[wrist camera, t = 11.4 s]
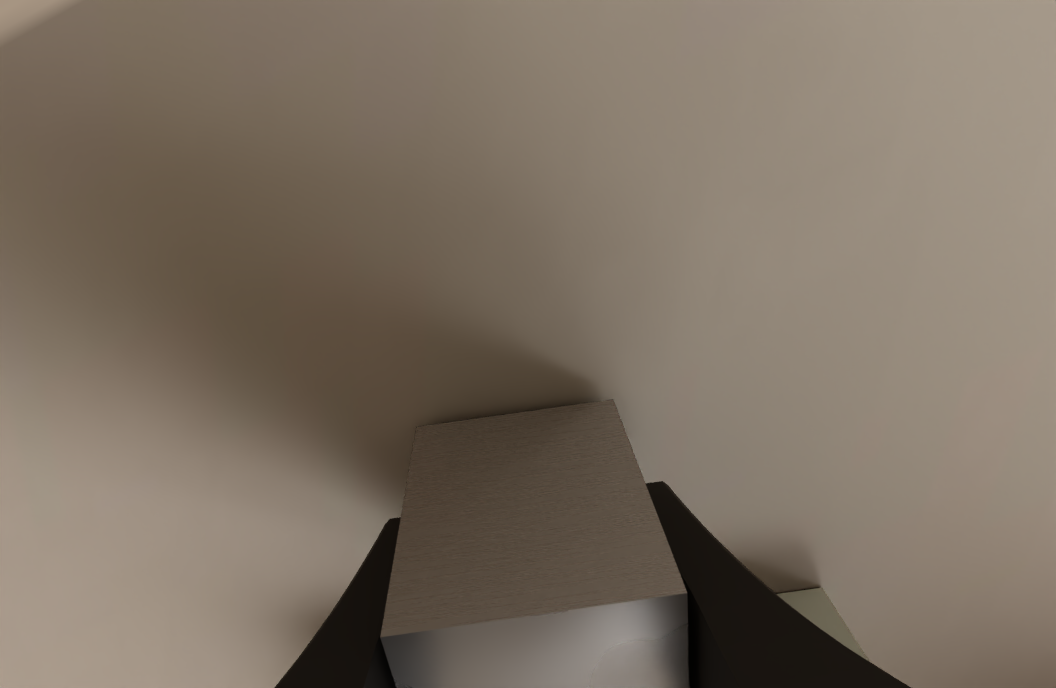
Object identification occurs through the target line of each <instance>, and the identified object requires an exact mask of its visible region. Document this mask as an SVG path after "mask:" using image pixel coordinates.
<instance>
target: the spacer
mask: <svg viewBox="0 0 1056 688" xmlns="http://www.w3.org/2000/svg"><path fill="white" fill-rule="evenodd" d="M380 638H381V641H382V644H383V647H384V651H385V654H386V657H387V660H388V663H389V666H390V669H391V673H392V676H393V679H394V682H395V685H396V688H689V668H688V602H687V591H686V588H685V586H684V583H683V580H682V578H681V575H680V573H679V570H678V567H677V565H676V562H675V559H674V557H673V554H672V552H671V549H670V546H669V544H668V541H667V539H666V536H665V533H664V531H663V528H662V526H661V523H660V520H659V518H658V515H657V513H656V510H655V507H654V505H653V502H652V499H651V497H650V494H649V492H648V489H647V486H646V484H645V481H644V479H643V476H642V473H641V471H640V468H639V466H638V463H637V460H636V458H635V455H634V452H633V450H632V447H631V445H630V442H629V439H628V437H627V434H626V432H625V429H624V426H623V424H622V421H621V419H620V416H619V413H618V411H617V408H616V405H615V403H614V400H613V399H612V400H605V401H598V402H591V403H584V404H576V405H569V406H562V407H555V408H548V409H541V410H534V411H526V412H519V413H512V414H505V415H498V416H491V417H484V418H476V419H469V420H462V421H455V422H448V423H441V424H434V425H427V426H419V427H416V432H415V438H414V444H413V450H412V455H411V461H410V467H409V473H408V479H407V485H406V490H405V496H404V502H403V508H402V514H401V520H400V525H399V531H398V537H397V543H396V549H395V555H394V560H393V566H392V572H391V578H390V584H389V590H388V595H387V601H386V607H385V613H384V619H383V624H382V630H381V636H380Z"/></svg>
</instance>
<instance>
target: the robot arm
mask: <svg viewBox="0 0 1056 688" xmlns="http://www.w3.org/2000/svg"><path fill="white" fill-rule="evenodd" d="M646 486H647V489H648V492H649V494H650V497H651V499H652V502H653V505H654V507H655V510H656V513H657V515H658V518H659V520H660V523H661V526H662V528H663V531H664V533H665V536H666V539H667V541H668V544H669V546H670V549H671V552H672V554H673V557H674V559H675V562H676V565H677V567H678V570H679V573H680V575H681V578H682V580H683V583H684V586H685V588H686V591H687V602H688V668H689V688H911V687H909V686H907V685H906V684H904V683H902V682H901V681H899V680H897V679H896V678H894V677H893V676H891V675H890V674H888V673H886V672H885V671H883V670H882V669H880V668H879V667H877V666H875V665H874V664H872V663H871V662H869V661H868V660H866V659H864V658H863V657H861V656H860V655H858V654H857V653H855V652H853V651H852V650H850V649H849V648H847V647H846V646H844V645H843V644H841V643H840V642H839V641H837V640H836V639H834V638H833V637H832V636H830V635H829V634H827V633H826V632H825V631H823V630H822V629H820V628H819V627H818V626H816V625H815V624H814V623H812V622H811V621H810V620H808V619H807V618H806V617H804V616H803V615H802V614H801V613H799V612H798V611H797V610H795V609H794V608H793V607H792V606H790V605H789V604H788V603H787V602H785V601H784V600H783V599H782V598H780V597H779V596H778V595H777V594H776V593H774V592H773V591H772V590H771V589H770V588H769V587H767V586H766V585H765V584H764V583H763V582H762V581H761V580H759V579H758V578H757V577H756V576H755V575H754V574H753V573H752V572H750V571H749V570H748V569H747V568H746V567H745V566H744V565H743V564H742V563H741V562H740V561H739V560H737V559H736V558H735V557H734V556H733V555H732V554H731V553H730V552H729V551H728V550H727V549H726V548H725V547H724V546H723V545H722V544H721V543H720V542H719V541H718V540H717V539H716V538H715V537H714V536H713V535H712V534H711V533H710V532H709V531H708V530H707V529H706V528H705V527H704V526H703V525H702V523H701V522H700V521H699V520H698V519H697V518H696V517H695V516H694V515H693V514H692V513H691V512H690V510H689V509H688V508H687V507H686V506H685V505H684V504H683V503H682V501H681V500H680V499H679V498H678V497H677V496H676V494H675V493H674V492H673V491H672V490H671V488H670V487H669V486H668V485H667V484H665V483H664V482H663V481H661V482H654V483H647V484H646ZM400 520H401V517H400V518H392V519H389V521H388V522H387V523H386V524H385V526H384V527H383V529H382V531H381V533H380V534H379V536H378V538H377V540H376V541H375V543H374V545H373V547H372V548H371V550H370V552H369V553H368V555H367V557H366V559H365V560H364V562H363V563H362V565H361V567H360V568H359V570H358V572H357V573H356V575H355V577H354V578H353V580H352V581H351V583H350V584H349V586H348V587H347V589H346V591H345V592H344V594H343V595H342V597H341V598H340V600H339V601H338V603H337V604H336V606H335V608H334V609H333V610H332V612H331V613H330V615H329V616H328V618H327V619H326V620H325V622H324V623H323V625H322V626H321V627H320V629H319V630H318V632H317V633H316V634H315V636H314V637H313V639H312V640H311V641H310V643H309V644H308V646H307V647H306V648H305V650H304V651H303V652H302V654H301V655H300V656H299V658H298V659H297V660H296V661H295V663H294V664H293V665H292V667H291V668H290V669H289V670H288V672H287V673H286V674H285V675H284V677H283V678H282V679H281V680H280V682H279V683H278V684H277V685H276V686H275V688H396V685H395V682H394V679H393V676H392V673H391V669H390V666H389V663H388V660H387V657H386V654H385V651H384V647H383V644H382V641H381V638H380V636H381V630H382V624H383V619H384V613H385V607H386V601H387V595H388V590H389V584H390V578H391V572H392V566H393V560H394V555H395V549H396V543H397V537H398V531H399V525H400Z"/></svg>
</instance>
